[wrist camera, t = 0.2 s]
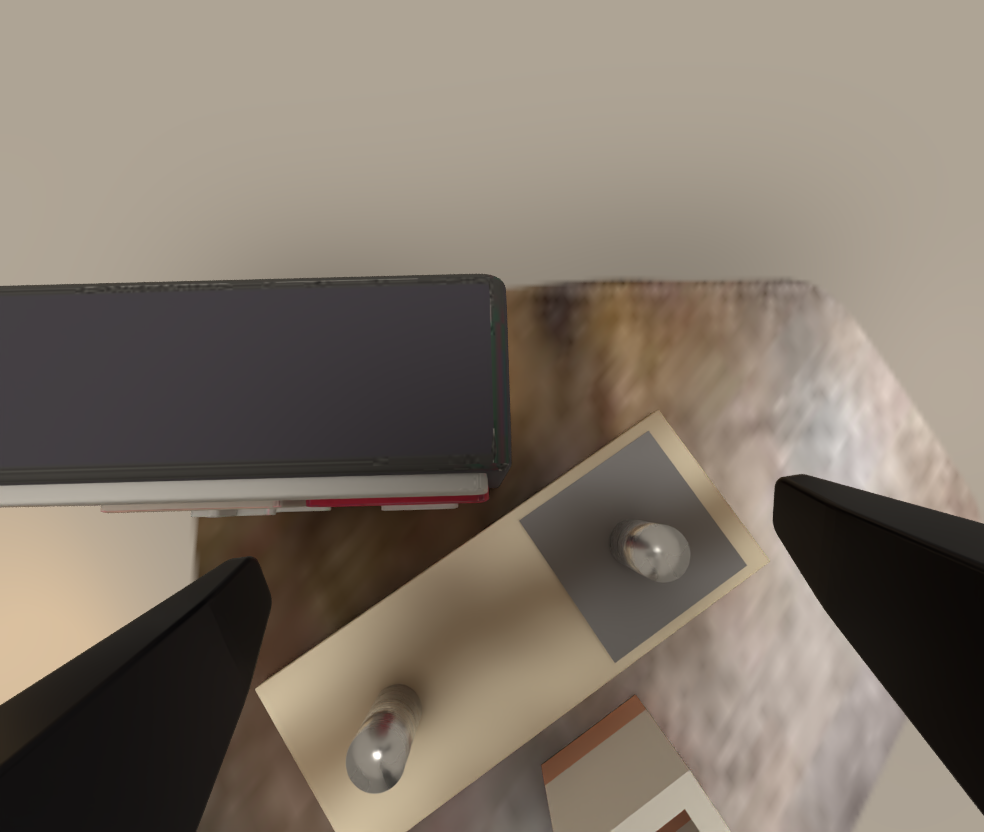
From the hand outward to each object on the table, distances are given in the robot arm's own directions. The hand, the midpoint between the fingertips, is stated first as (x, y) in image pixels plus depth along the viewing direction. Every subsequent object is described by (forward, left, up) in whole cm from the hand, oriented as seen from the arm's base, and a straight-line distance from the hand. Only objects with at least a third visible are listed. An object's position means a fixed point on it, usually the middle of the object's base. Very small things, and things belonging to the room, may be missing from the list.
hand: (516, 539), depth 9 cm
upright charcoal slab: (+5, +3, -15) cm, 16 cm away
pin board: (-4, +2, -14) cm, 15 cm away
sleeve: (-12, +2, -14) cm, 19 cm away
